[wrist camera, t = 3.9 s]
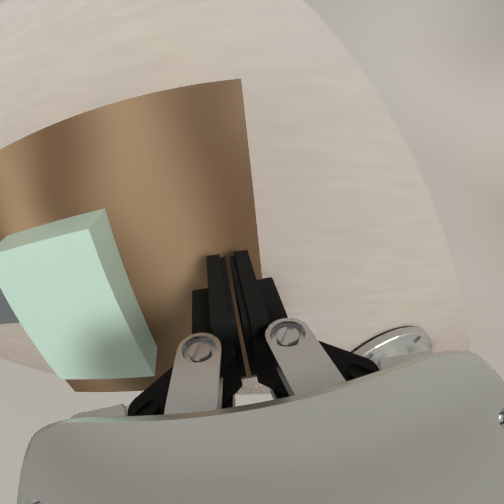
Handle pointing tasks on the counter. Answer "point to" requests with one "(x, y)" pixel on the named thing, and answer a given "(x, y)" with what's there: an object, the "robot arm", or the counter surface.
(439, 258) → the counter surface
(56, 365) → the mint green block
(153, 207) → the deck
